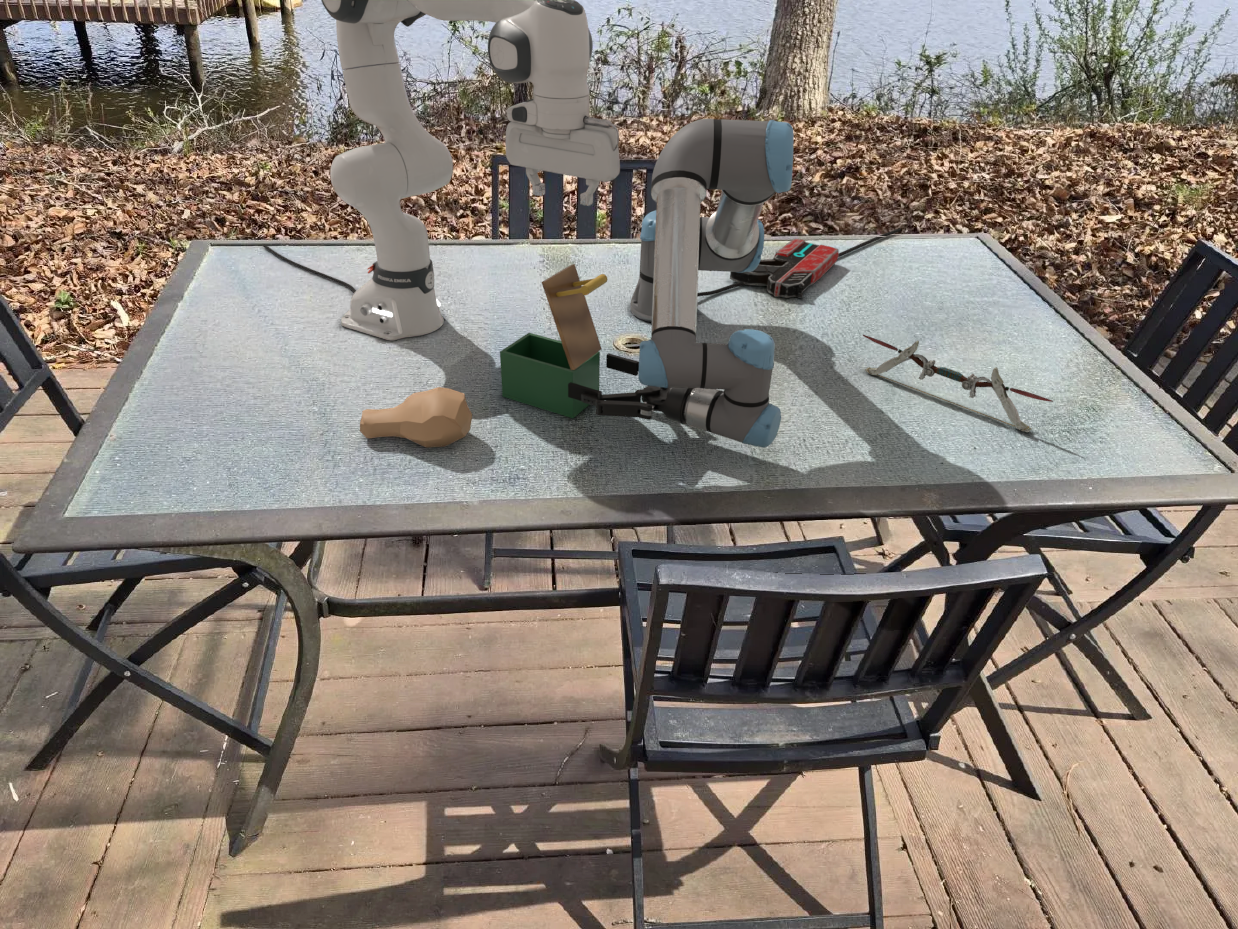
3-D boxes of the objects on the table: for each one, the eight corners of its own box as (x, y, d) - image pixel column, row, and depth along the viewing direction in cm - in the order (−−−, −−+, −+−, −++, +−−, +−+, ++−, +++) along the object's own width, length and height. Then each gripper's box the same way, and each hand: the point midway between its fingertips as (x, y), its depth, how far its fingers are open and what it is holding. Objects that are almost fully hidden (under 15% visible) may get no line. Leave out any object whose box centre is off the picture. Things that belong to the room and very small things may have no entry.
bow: (1043, 434, 162) (1060, 387, 156) (1039, 438, 161) (1056, 390, 155) (858, 366, 183) (867, 322, 178) (854, 369, 182) (862, 324, 177)
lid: (541, 281, 151) (577, 275, 147) (570, 264, 159) (606, 257, 154) (570, 370, 158) (606, 366, 153) (598, 349, 165) (633, 345, 160)
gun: (726, 267, 216) (800, 286, 208) (775, 231, 238) (843, 246, 230) (724, 284, 219) (797, 304, 211) (772, 247, 241) (840, 263, 233)
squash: (473, 454, 152) (461, 415, 146) (361, 463, 154) (345, 424, 148) (480, 414, 160) (469, 375, 154) (374, 422, 162) (359, 384, 155)
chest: (502, 396, 169) (499, 351, 164) (530, 376, 176) (528, 332, 171) (573, 418, 163) (572, 372, 158) (599, 396, 170) (599, 351, 165)
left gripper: (628, 117, 138) (625, 205, 145) (520, 101, 146) (523, 185, 153) (608, 125, 133) (607, 215, 141) (498, 107, 141) (502, 194, 149)
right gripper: (658, 455, 147) (552, 421, 155) (719, 394, 165) (621, 366, 173) (660, 417, 142) (551, 383, 151) (723, 358, 161) (622, 331, 169)
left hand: (562, 199), depth 147 cm, fingers open, 8 cm apart
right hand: (588, 374), depth 162 cm, fingers open, 13 cm apart
